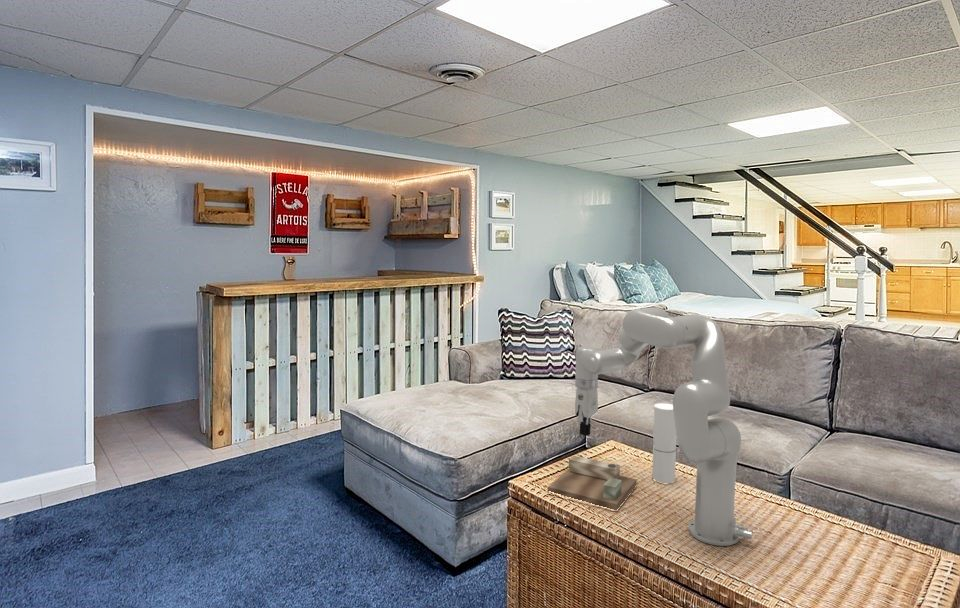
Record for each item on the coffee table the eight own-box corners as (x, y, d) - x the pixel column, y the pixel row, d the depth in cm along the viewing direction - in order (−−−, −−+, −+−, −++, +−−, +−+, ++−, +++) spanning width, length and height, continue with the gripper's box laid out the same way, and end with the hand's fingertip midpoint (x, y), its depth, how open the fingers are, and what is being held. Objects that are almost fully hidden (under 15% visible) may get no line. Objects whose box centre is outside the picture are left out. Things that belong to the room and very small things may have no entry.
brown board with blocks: (636, 486, 175) (637, 467, 174) (616, 512, 158) (616, 491, 157) (572, 472, 187) (573, 453, 186) (547, 494, 170) (547, 474, 169)
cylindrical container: (671, 475, 183) (674, 403, 181) (677, 484, 176) (679, 409, 174) (650, 475, 184) (652, 403, 181) (654, 484, 177) (656, 409, 174)
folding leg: (619, 477, 176) (619, 464, 175) (615, 481, 172) (615, 469, 172) (573, 466, 184) (573, 455, 184) (568, 471, 181) (568, 458, 180)
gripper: (588, 389, 177) (587, 443, 179) (604, 379, 190) (602, 430, 192) (567, 386, 181) (566, 438, 183) (584, 376, 194) (582, 426, 196)
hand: (584, 434), depth 187 cm, fingers closed
